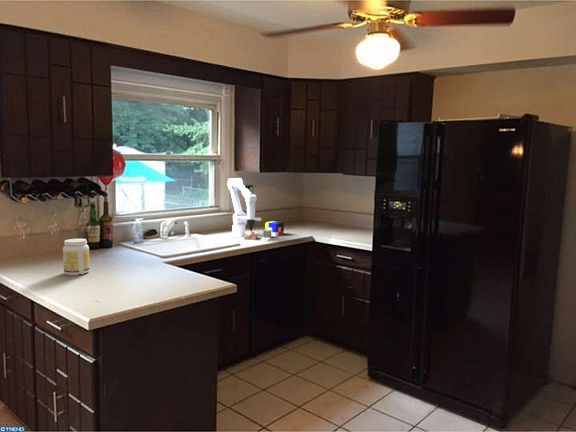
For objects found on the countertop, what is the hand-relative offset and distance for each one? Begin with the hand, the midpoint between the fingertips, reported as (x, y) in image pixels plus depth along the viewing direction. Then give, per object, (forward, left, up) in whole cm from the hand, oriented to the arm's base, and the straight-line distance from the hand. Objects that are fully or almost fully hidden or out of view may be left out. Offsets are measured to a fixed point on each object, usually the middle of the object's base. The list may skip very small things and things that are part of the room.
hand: (251, 230), depth 338 cm
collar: (0, 0, -7) cm, 7 cm away
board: (+10, +2, -7) cm, 12 cm away
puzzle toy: (+13, +21, -7) cm, 26 cm away
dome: (0, 0, -5) cm, 5 cm away
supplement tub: (-66, -111, -7) cm, 129 cm away
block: (+10, +8, -6) cm, 14 cm away
